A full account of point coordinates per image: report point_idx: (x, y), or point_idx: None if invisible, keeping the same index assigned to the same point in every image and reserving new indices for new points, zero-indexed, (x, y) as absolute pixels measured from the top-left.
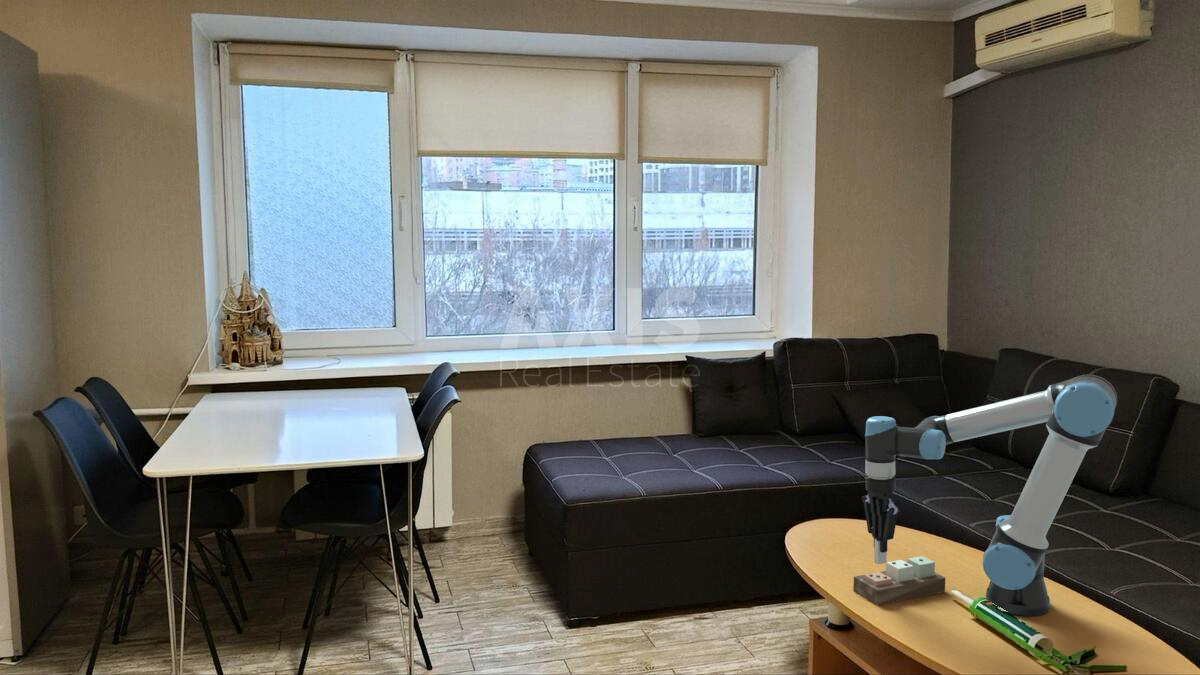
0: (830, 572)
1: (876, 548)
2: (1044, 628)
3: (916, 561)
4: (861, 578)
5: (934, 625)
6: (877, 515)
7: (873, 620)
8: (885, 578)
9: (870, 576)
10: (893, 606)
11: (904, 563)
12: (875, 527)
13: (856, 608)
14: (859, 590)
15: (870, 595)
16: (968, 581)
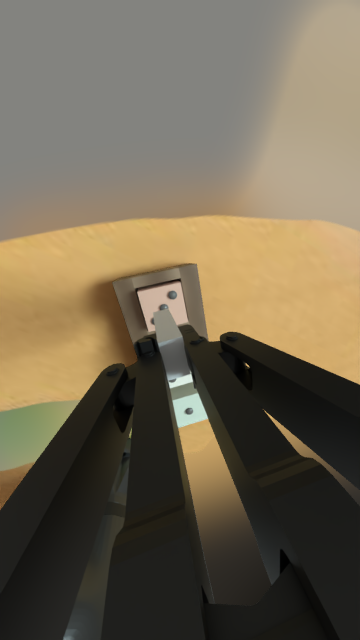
0: (275, 259)
1: (163, 325)
2: (26, 469)
3: (185, 402)
4: (183, 276)
5: (26, 343)
6: (238, 466)
7: (45, 239)
8: (152, 320)
9: (168, 292)
10: (113, 307)
11: (181, 378)
12: (197, 372)
13: (109, 231)
14: (172, 267)
15: (137, 275)
16: (186, 434)
